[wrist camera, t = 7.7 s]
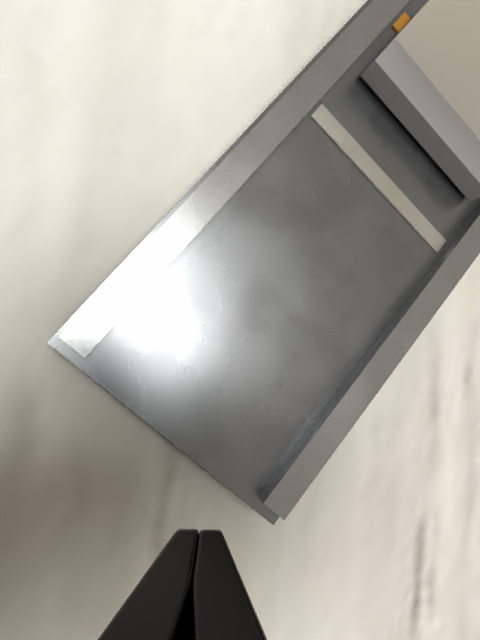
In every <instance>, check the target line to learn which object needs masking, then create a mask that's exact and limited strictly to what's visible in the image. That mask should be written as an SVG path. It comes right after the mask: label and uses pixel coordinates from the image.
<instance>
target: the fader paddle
mask: <svg viewBox="0 0 480 640" xmlns="http://www.w3.org/2000/svg"><path fill="white" fill-rule="evenodd" d="M360 76H361V77H362V78H363V79H364V80H365V81H366V83H367V84H368V85H369V86H370V87H371V88H372V90H373V91H374V92H375V93H376V94H377V95H378V96H379V98H380V99H381V100H382V101H383V102H384V103H385V104H386V106H387V107H388V108H389V109H390V110H391V111H392V113H393V114H394V115H395V116H396V117H397V118H398V119H399V121H400V122H401V123H402V124H403V125H404V126H405V127H406V129H407V130H408V131H409V132H410V133H411V134H412V136H413V137H414V138H415V139H416V140H417V141H418V142H419V144H420V145H421V146H422V147H423V148H424V149H425V150H426V152H427V153H428V154H429V155H430V156H431V157H432V159H433V160H434V161H435V162H436V163H437V164H438V165H439V167H440V168H441V169H442V170H443V171H444V172H445V174H446V175H447V176H448V177H449V178H450V179H451V180H452V182H453V183H454V184H455V185H456V186H457V187H458V188H459V190H460V191H461V192H462V193H463V194H464V195H465V197H466V198H467V199H468V200H469V201H471V200H474V199H477V198H480V0H428V1H427V2H426V3H425V4H424V5H423V6H422V7H421V8H420V9H419V10H418V11H417V12H416V13H415V14H414V15H413V17H412V18H411V19H410V20H409V21H408V22H407V23H406V24H405V26H404V27H403V28H402V29H401V30H400V31H399V32H398V33H397V34H396V36H395V37H394V38H393V39H392V40H391V41H390V42H389V43H388V44H387V46H386V47H385V48H384V49H383V50H382V51H381V52H380V53H379V54H378V56H377V57H376V58H375V59H374V60H373V61H372V62H371V63H370V65H369V66H368V67H367V68H366V69H365V70H364V71H363V72H362V73H361V75H360Z"/></svg>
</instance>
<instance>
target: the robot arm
mask: <svg viewBox="0 0 480 640" xmlns="http://www.w3.org/2000/svg"><path fill="white" fill-rule="evenodd" d="M98 640H267V638H266V636H265V634H264V631H263V629H262V626H261V624H260V622H259V619H258V617H257V614H256V612H255V610H254V607H253V605H252V603H251V600H250V598H249V595H248V593H247V591H246V588H245V586H244V584H243V581H242V579H241V576H240V574H239V572H238V569H237V567H236V564H235V562H234V560H233V557H232V555H231V553H230V550H229V548H228V545H227V543H226V541H225V538H224V536H223V534H222V532H221V531H220V530H201V531H200V533H199V532H198V530H196V529H179V530H177V531H176V532H175V533H174V535H173V536H172V538H171V539H170V540H169V542H168V543H167V545H166V546H165V547H164V549H163V550H162V551H161V553H160V554H159V556H158V557H157V558H156V560H155V561H154V563H153V564H152V565H151V567H150V568H149V570H148V571H147V572H146V574H145V575H144V576H143V578H142V579H141V581H140V582H139V583H138V585H137V586H136V588H135V589H134V590H133V592H132V593H131V594H130V596H129V597H128V599H127V600H126V601H125V603H124V604H123V606H122V607H121V608H120V610H119V611H118V612H117V614H116V615H115V617H114V618H113V619H112V621H111V622H110V624H109V625H108V626H107V628H106V629H105V630H104V632H103V633H102V635H101V636H100V637H99V639H98Z"/></svg>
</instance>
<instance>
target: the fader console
mask: <svg viewBox="0 0 480 640" xmlns="http://www.w3.org/2000/svg"><path fill="white" fill-rule="evenodd" d="M427 1H428V0H368V1H367V2H366V3H365V4H364V5H363V6H362V7H361V8H360V10H359V11H358V12H357V13H356V14H355V15H354V16H353V17H352V18H351V19H350V20H349V21H348V22H347V23H346V24H345V26H344V27H343V28H342V29H341V30H340V31H339V32H338V33H337V34H336V35H335V36H334V37H333V38H332V39H331V40H330V42H329V43H328V44H327V45H326V46H325V47H324V48H323V49H322V50H321V51H320V52H319V53H318V54H317V55H316V56H315V57H314V59H313V60H312V61H311V62H310V63H309V64H308V65H307V66H306V67H305V68H304V69H303V70H302V71H301V72H300V73H299V75H298V76H297V77H296V78H295V79H294V80H293V81H292V82H291V83H290V84H289V85H288V86H287V87H286V88H285V89H284V91H283V92H282V93H281V94H280V95H279V96H278V97H277V98H276V99H275V100H274V101H273V102H272V103H271V104H270V105H269V106H268V108H267V109H266V110H265V111H264V112H263V113H262V114H261V115H260V116H259V117H258V118H257V119H256V120H255V121H254V122H253V124H252V125H251V126H250V127H249V128H248V129H247V130H246V131H245V132H244V133H243V134H242V135H241V136H240V137H239V138H238V140H237V141H236V142H235V143H234V144H233V145H232V146H231V147H230V148H229V149H228V150H227V151H226V152H225V153H224V154H223V155H222V157H221V158H220V159H219V160H218V161H217V162H216V163H215V164H214V165H213V166H212V167H211V168H210V169H209V170H208V171H207V173H206V174H205V175H204V176H203V177H202V178H201V179H200V180H199V181H198V182H197V183H196V184H195V185H194V186H193V187H192V189H191V190H190V191H189V192H188V193H187V194H186V195H185V196H184V197H183V198H182V199H181V200H180V201H179V202H178V203H177V204H176V206H175V207H174V208H173V209H172V210H171V211H170V212H169V213H168V214H167V215H166V216H165V217H164V218H163V219H162V220H161V222H160V223H159V224H158V225H157V226H156V227H155V228H154V229H153V230H152V231H151V232H150V233H149V234H148V235H147V236H146V238H145V239H144V240H143V241H142V242H141V243H140V244H139V245H138V246H137V247H136V248H135V249H134V250H133V251H132V252H131V254H130V255H129V256H128V257H127V258H126V259H125V260H124V261H123V262H122V263H121V264H120V265H119V266H118V267H117V268H116V269H115V271H114V272H113V273H112V274H111V275H110V276H109V277H108V278H107V279H106V280H105V281H104V282H103V283H102V284H101V285H100V287H99V288H98V289H97V290H96V291H95V292H94V293H93V294H92V295H91V296H90V297H89V298H88V299H87V300H86V301H85V303H84V304H83V305H82V306H81V307H80V308H79V309H78V310H77V311H76V312H75V313H74V314H73V315H72V316H71V317H70V318H69V320H68V321H67V322H66V323H65V324H64V325H63V326H62V327H61V328H60V329H59V330H58V331H57V332H56V333H55V334H54V336H53V337H52V338H51V339H50V340H49V341H48V342H47V343H48V344H49V345H50V346H51V347H53V348H54V349H55V350H56V351H58V352H59V353H60V354H61V355H63V356H64V357H65V358H66V359H68V360H69V361H70V362H71V363H72V364H74V365H75V366H76V367H77V368H79V369H80V370H81V371H82V372H84V373H85V374H86V375H87V376H89V377H90V378H91V379H92V380H94V381H95V382H96V383H97V384H99V385H100V386H101V387H102V388H104V389H105V390H106V391H107V392H109V393H110V394H111V395H112V396H114V397H115V398H116V399H117V400H118V401H120V402H121V403H122V404H123V405H125V406H126V407H127V408H128V409H130V410H131V411H132V412H133V413H135V414H136V415H137V416H138V417H140V418H141V419H142V420H143V421H145V422H146V423H147V424H148V425H150V426H151V427H152V428H153V429H155V430H156V431H157V432H158V433H160V434H161V435H162V436H163V437H164V438H166V439H167V440H168V441H169V442H171V443H172V444H173V445H174V446H176V447H177V448H178V449H179V450H181V451H182V452H183V453H184V454H186V455H187V456H188V457H189V458H191V459H192V460H193V461H194V462H196V463H197V464H198V465H199V466H201V467H202V468H203V469H204V470H206V471H207V472H208V473H209V474H210V475H212V476H213V477H214V478H215V479H217V480H218V481H219V482H220V483H222V484H223V485H224V486H225V487H227V488H228V489H229V490H230V491H232V492H233V493H234V494H235V495H237V496H238V497H239V498H240V499H242V500H243V501H244V502H245V503H247V504H248V505H249V506H250V507H252V508H253V509H254V510H255V511H256V512H258V513H259V514H260V515H261V516H263V517H264V518H265V519H266V520H268V521H269V522H270V523H271V524H273V525H274V523H275V522H276V521H277V519H278V518H279V517H281V518H282V519H283V520H285V518H286V517H287V516H288V514H289V513H290V511H291V510H292V509H293V507H294V506H295V505H296V503H297V502H298V501H299V499H300V498H301V496H302V495H303V494H304V492H305V491H306V490H307V488H308V487H309V485H310V484H311V483H312V481H313V480H314V479H315V477H316V476H317V475H318V473H319V472H320V470H321V469H322V468H323V466H324V465H325V464H326V462H327V461H328V460H329V458H330V457H331V455H332V454H333V453H334V451H335V450H336V449H337V447H338V446H339V444H340V443H341V442H342V440H343V439H344V438H345V436H346V435H347V434H348V432H349V431H350V429H351V428H352V427H353V425H354V424H355V423H356V421H357V420H358V419H359V417H360V416H361V414H362V413H363V412H364V410H365V409H366V408H367V406H368V405H369V403H370V402H371V401H372V399H373V398H374V397H375V395H376V394H377V393H378V391H379V390H380V388H381V387H382V386H383V384H384V383H385V382H386V380H387V379H388V378H389V376H390V375H391V373H392V372H393V371H394V369H395V368H396V367H397V365H398V364H399V362H400V361H401V360H402V358H403V357H404V356H405V354H406V353H407V352H408V350H409V349H410V347H411V346H412V345H413V343H414V342H415V341H416V339H417V338H418V337H419V335H420V334H421V332H422V331H423V330H424V328H425V327H426V326H427V324H428V323H429V321H430V320H431V319H432V317H433V316H434V315H435V313H436V312H437V311H438V309H439V308H440V306H441V305H442V304H443V302H444V301H445V300H446V298H447V297H448V296H449V294H450V293H451V291H452V290H453V289H454V287H455V286H456V285H457V283H458V282H459V280H460V279H461V278H462V276H463V275H464V274H465V272H466V271H467V270H468V268H469V267H470V265H471V264H472V263H473V261H474V260H475V259H476V257H477V256H478V255H479V253H480V198H477V199H474V200H471V201H469V200H468V199H467V198H466V197H465V195H464V194H463V193H462V192H461V191H460V190H459V188H458V187H457V186H456V185H455V184H454V183H453V182H452V180H451V179H450V178H449V177H448V176H447V175H446V174H445V172H444V171H443V170H442V169H441V168H440V167H439V165H438V164H437V163H436V162H435V161H434V160H433V159H432V157H431V156H430V155H429V154H428V153H427V152H426V150H425V149H424V148H423V147H422V146H421V145H420V144H419V142H418V141H417V140H416V139H415V138H414V137H413V136H412V134H411V133H410V132H409V131H408V130H407V129H406V127H405V126H404V125H403V124H402V123H401V122H400V121H399V119H398V118H397V117H396V116H395V115H394V114H393V113H392V111H391V110H390V109H389V108H388V107H387V106H386V104H385V103H384V102H383V101H382V100H381V99H380V98H379V96H378V95H377V94H376V93H375V92H374V91H373V90H372V88H371V87H370V86H369V85H368V84H367V83H366V81H365V80H364V79H363V78H362V77H361V76H360V75H361V73H362V72H363V71H364V70H365V69H366V68H367V67H368V66H369V65H370V63H371V62H372V61H373V60H374V59H375V58H376V57H377V56H378V54H379V53H380V52H381V51H382V50H383V49H384V48H385V47H386V46H387V44H388V43H389V42H390V41H391V40H392V39H393V38H394V37H395V36H396V34H397V33H398V32H399V31H400V30H401V29H402V28H403V27H404V26H405V24H406V23H407V22H408V21H409V20H410V19H411V18H412V17H413V15H414V14H415V13H416V12H417V11H418V10H419V9H420V8H421V7H422V6H423V5H424V4H425V3H426V2H427Z"/></svg>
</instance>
